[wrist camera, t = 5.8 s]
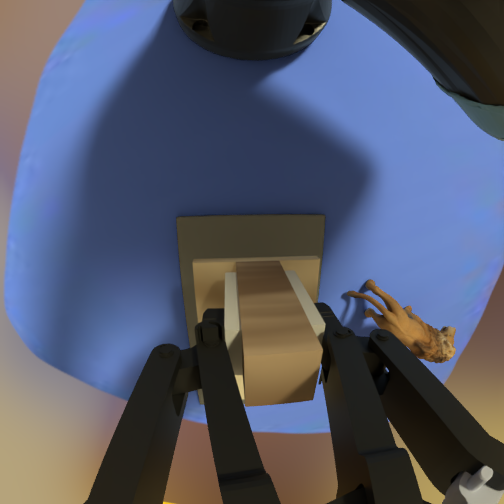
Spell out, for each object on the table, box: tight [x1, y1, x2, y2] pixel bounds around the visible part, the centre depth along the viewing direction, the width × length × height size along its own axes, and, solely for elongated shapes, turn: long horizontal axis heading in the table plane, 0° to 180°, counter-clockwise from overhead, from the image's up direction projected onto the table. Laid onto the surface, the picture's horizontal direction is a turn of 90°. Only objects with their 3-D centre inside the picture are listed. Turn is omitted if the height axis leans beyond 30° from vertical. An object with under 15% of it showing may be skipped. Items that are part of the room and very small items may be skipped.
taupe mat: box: [176, 214, 325, 404], centre depth 30 cm, size 25×14×1 cm, turn 0°
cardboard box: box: [193, 256, 323, 406], centre depth 16 cm, size 6×9×11 cm, turn 90°
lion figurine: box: [347, 280, 456, 363], centre depth 27 cm, size 15×5×9 cm, turn 66°
